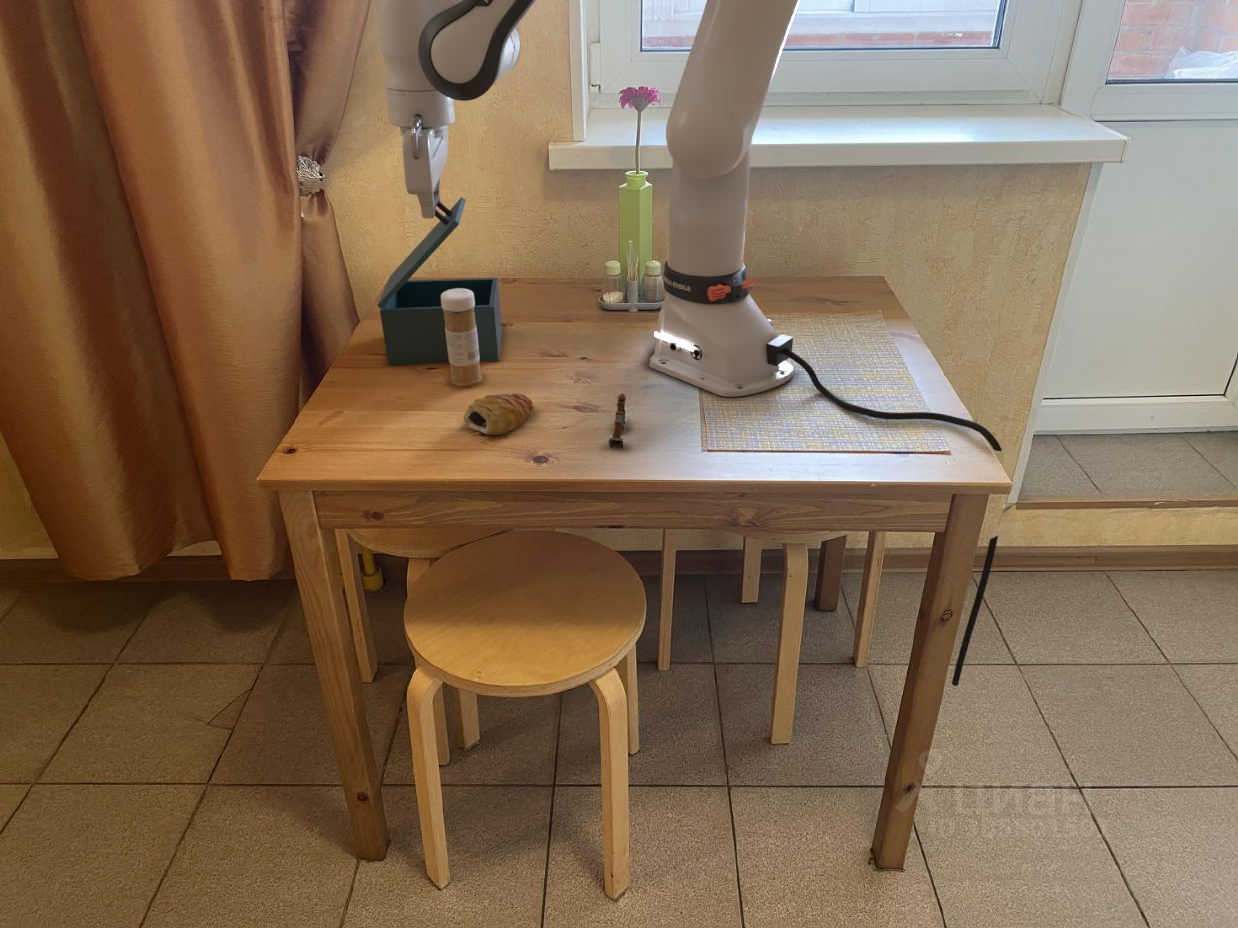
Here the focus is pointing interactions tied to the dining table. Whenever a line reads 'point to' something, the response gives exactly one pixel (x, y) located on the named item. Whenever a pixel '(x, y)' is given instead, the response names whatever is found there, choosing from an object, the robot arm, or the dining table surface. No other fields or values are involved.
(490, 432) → the pastry
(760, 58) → the robot arm
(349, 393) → the dining table surface
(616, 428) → the wooden post with brackets
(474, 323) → the sprinkles bottle
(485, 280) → the chest
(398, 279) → the lid
